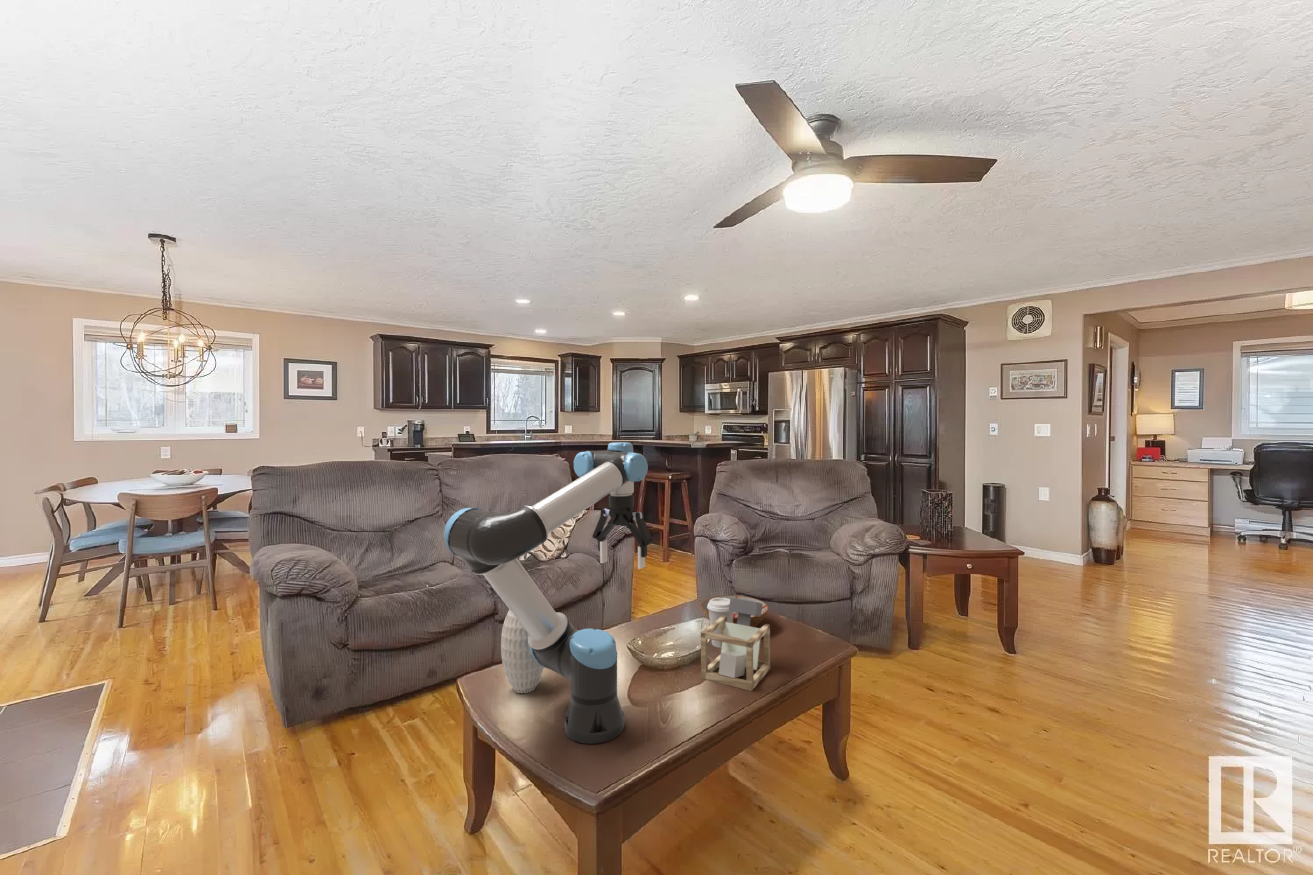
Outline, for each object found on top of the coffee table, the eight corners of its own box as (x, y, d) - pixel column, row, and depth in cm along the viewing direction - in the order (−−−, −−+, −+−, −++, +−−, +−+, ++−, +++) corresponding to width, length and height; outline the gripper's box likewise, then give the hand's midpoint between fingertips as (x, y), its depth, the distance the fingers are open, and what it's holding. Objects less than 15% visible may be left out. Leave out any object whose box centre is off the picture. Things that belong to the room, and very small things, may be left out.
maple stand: (751, 691, 158) (751, 642, 157) (701, 678, 166) (700, 632, 166) (770, 668, 172) (769, 624, 171) (722, 658, 180) (722, 615, 179)
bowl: (698, 638, 196) (698, 616, 196) (704, 613, 221) (703, 593, 221) (770, 642, 192) (770, 619, 192) (767, 616, 217) (767, 596, 217)
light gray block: (744, 675, 168) (734, 677, 161) (728, 671, 170) (718, 674, 164) (746, 654, 169) (736, 656, 162) (731, 650, 172) (720, 652, 165)
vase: (493, 689, 161) (491, 593, 160) (530, 674, 170) (528, 583, 169) (518, 704, 152) (516, 603, 151) (555, 687, 161) (554, 592, 160)
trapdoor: (759, 669, 169) (753, 669, 165) (723, 661, 175) (717, 661, 171) (767, 604, 175) (761, 603, 171) (731, 598, 181) (726, 596, 177)
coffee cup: (739, 642, 192) (739, 599, 192) (727, 652, 184) (727, 607, 184) (714, 636, 198) (714, 595, 197) (702, 646, 190) (702, 602, 189)
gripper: (663, 495, 161) (664, 567, 162) (595, 490, 174) (596, 557, 174) (650, 498, 154) (651, 573, 155) (580, 493, 167) (581, 562, 168)
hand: (622, 565), depth 165 cm, fingers open, 13 cm apart
